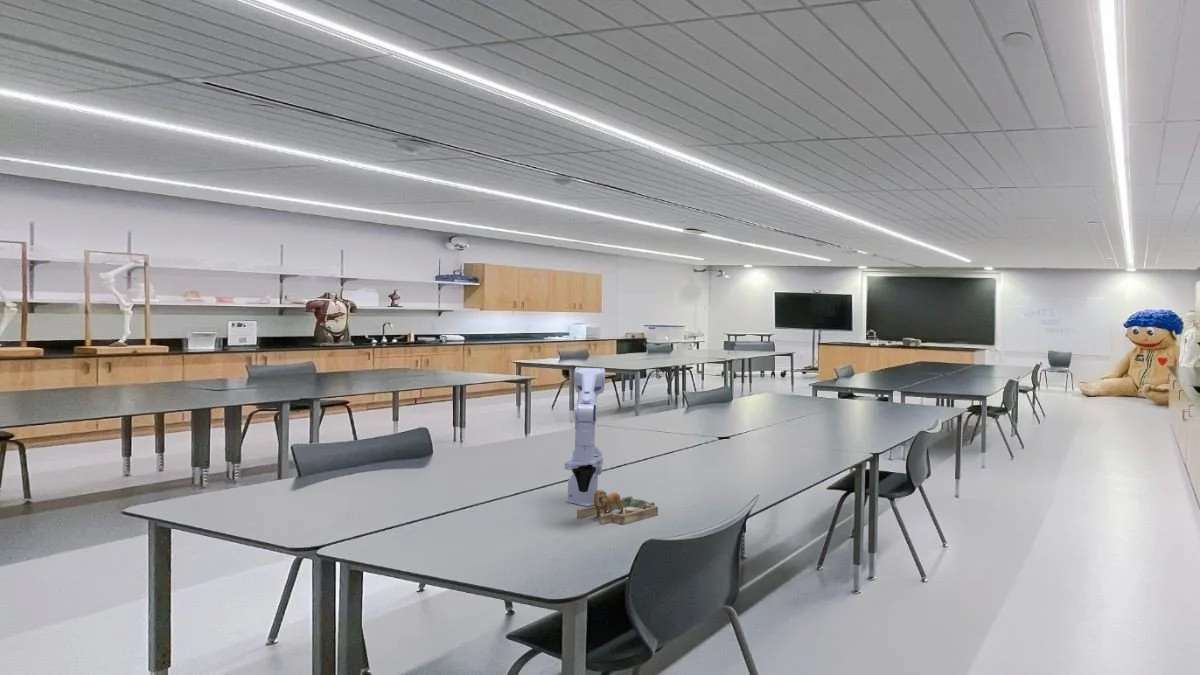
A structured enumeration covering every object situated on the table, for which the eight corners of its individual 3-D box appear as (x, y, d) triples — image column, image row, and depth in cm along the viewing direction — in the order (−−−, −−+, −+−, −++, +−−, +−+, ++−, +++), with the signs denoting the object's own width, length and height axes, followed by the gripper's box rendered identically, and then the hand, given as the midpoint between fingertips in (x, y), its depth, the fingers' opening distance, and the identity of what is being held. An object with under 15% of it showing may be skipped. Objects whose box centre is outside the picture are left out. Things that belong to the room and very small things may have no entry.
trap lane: (576, 518, 235) (577, 508, 235) (629, 504, 254) (630, 496, 253) (612, 527, 226) (612, 518, 225) (664, 513, 244) (664, 504, 244)
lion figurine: (604, 522, 231) (605, 492, 231) (588, 520, 233) (589, 490, 233) (626, 512, 244) (627, 483, 243) (611, 510, 246) (612, 481, 246)
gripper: (577, 449, 220) (576, 497, 221) (611, 444, 231) (609, 490, 232) (559, 446, 225) (558, 493, 226) (593, 441, 236) (592, 486, 236)
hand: (583, 491), depth 229 cm, fingers closed
